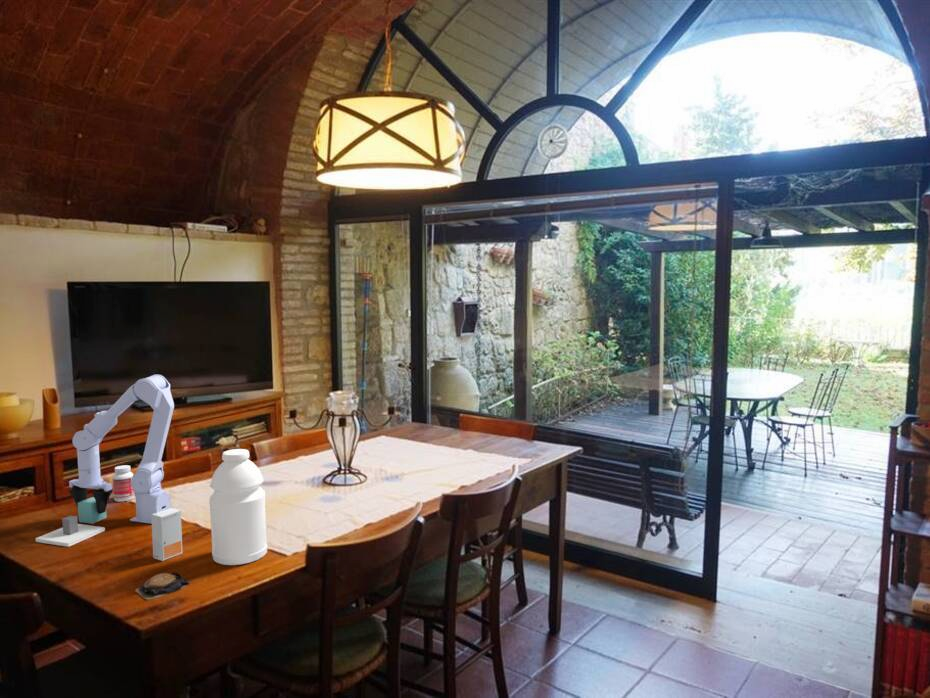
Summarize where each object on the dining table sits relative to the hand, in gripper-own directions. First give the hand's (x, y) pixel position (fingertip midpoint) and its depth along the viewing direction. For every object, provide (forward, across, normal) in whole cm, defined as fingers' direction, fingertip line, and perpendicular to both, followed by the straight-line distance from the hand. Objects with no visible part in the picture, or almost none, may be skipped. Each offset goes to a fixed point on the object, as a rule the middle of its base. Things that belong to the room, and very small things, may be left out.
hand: (92, 511), depth 198 cm
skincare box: (+3, -42, +15) cm, 45 cm away
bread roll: (+3, -54, +30) cm, 62 cm away
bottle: (+3, -60, +9) cm, 61 cm away
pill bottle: (+3, +6, -18) cm, 19 cm away
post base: (+3, -5, +12) cm, 13 cm away
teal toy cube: (+3, 0, 0) cm, 3 cm away
